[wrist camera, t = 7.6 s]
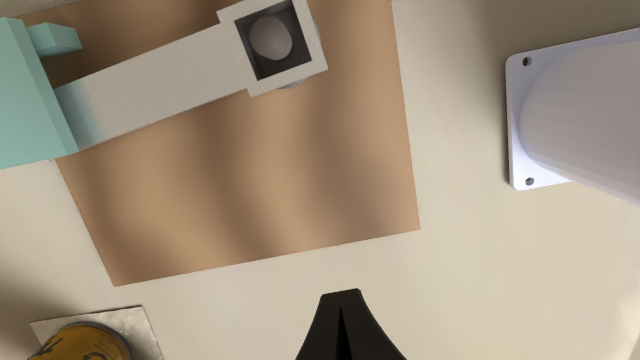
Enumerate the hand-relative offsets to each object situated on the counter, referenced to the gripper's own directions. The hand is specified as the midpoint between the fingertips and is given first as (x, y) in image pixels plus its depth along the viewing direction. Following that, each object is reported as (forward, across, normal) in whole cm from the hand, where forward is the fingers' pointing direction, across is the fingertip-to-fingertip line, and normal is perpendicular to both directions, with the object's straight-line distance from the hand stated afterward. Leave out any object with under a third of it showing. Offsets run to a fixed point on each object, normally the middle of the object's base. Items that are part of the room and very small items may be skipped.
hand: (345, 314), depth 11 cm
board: (+10, +5, -6) cm, 13 cm away
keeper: (+10, +14, -10) cm, 20 cm away
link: (+8, +6, -9) cm, 14 cm away
